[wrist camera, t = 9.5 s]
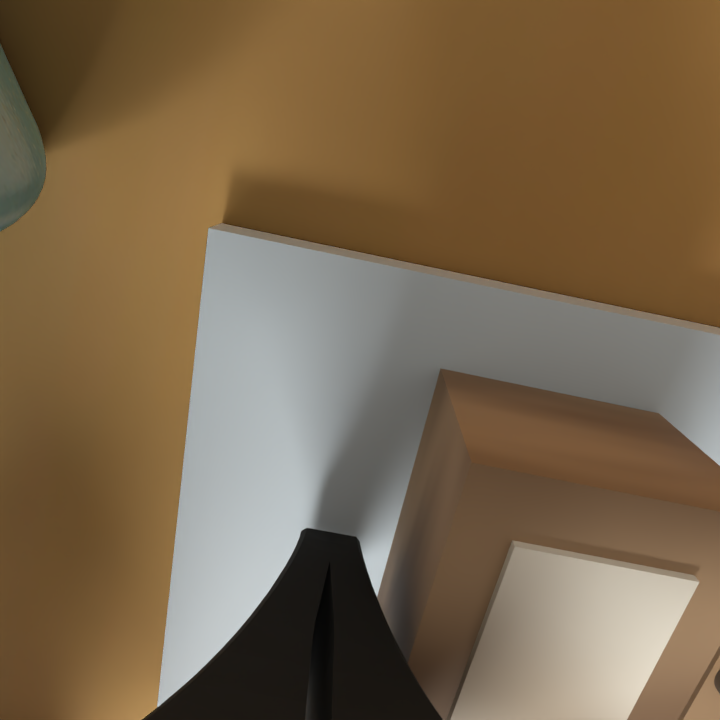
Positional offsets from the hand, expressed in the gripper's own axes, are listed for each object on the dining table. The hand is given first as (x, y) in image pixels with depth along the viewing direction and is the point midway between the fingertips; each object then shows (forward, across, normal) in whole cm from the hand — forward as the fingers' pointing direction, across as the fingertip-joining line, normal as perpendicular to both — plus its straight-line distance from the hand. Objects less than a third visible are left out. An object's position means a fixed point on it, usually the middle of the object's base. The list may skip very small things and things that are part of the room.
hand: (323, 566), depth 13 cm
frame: (+1, -4, 0) cm, 4 cm away
